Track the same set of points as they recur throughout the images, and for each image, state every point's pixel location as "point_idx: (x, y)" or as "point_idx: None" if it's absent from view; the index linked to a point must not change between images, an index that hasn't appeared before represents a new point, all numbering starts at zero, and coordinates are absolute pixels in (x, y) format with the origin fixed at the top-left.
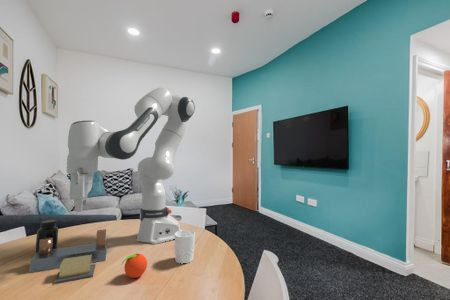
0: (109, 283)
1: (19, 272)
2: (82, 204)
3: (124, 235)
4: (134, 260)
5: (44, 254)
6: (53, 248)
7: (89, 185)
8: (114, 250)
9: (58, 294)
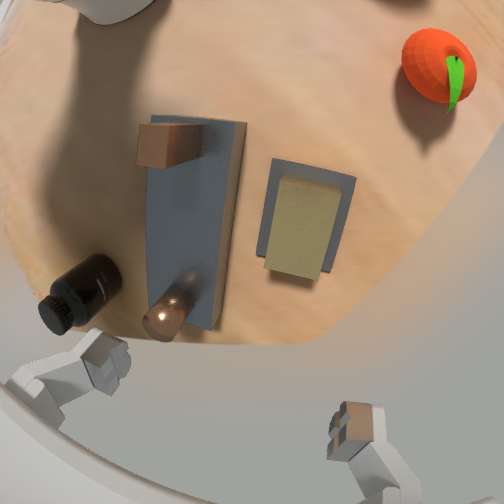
0: (425, 145)
1: None
2: (123, 362)
3: (66, 69)
4: (473, 78)
5: (192, 306)
6: (107, 265)
7: (11, 489)
8: (171, 89)
9: (392, 262)
